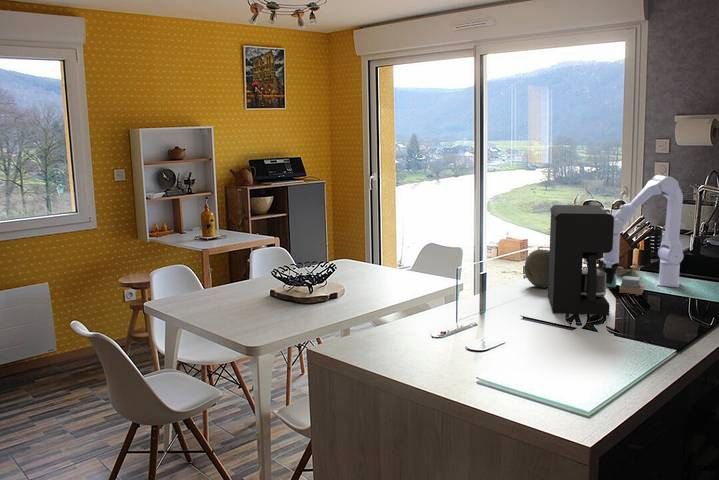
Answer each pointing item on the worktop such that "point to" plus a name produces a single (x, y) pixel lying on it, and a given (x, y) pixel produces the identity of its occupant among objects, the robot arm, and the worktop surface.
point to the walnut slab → (632, 290)
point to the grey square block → (631, 282)
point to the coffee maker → (578, 258)
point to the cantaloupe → (538, 268)
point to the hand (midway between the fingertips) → (609, 282)
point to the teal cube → (612, 282)
